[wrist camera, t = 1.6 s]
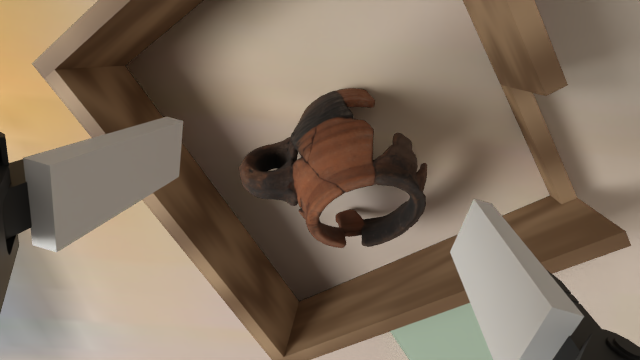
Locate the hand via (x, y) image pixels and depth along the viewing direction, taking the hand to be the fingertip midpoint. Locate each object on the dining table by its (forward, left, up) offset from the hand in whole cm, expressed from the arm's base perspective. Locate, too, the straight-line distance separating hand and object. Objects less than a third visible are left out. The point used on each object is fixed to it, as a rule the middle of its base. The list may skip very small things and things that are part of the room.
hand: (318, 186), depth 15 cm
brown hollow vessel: (0, -1, -11) cm, 12 cm away
